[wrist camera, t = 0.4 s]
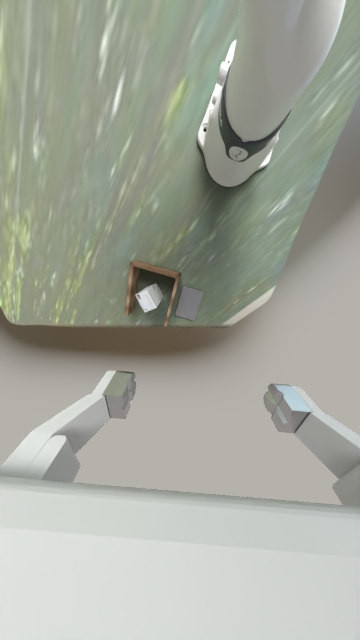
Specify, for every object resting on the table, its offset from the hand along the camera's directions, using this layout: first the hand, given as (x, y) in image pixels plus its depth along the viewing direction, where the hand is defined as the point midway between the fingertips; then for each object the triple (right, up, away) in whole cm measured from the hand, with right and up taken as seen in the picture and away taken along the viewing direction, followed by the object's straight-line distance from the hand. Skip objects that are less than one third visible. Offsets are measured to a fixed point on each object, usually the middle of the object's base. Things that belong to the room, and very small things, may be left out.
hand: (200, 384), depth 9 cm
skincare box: (-11, +14, +43) cm, 47 cm away
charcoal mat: (+2, +10, +45) cm, 46 cm away
